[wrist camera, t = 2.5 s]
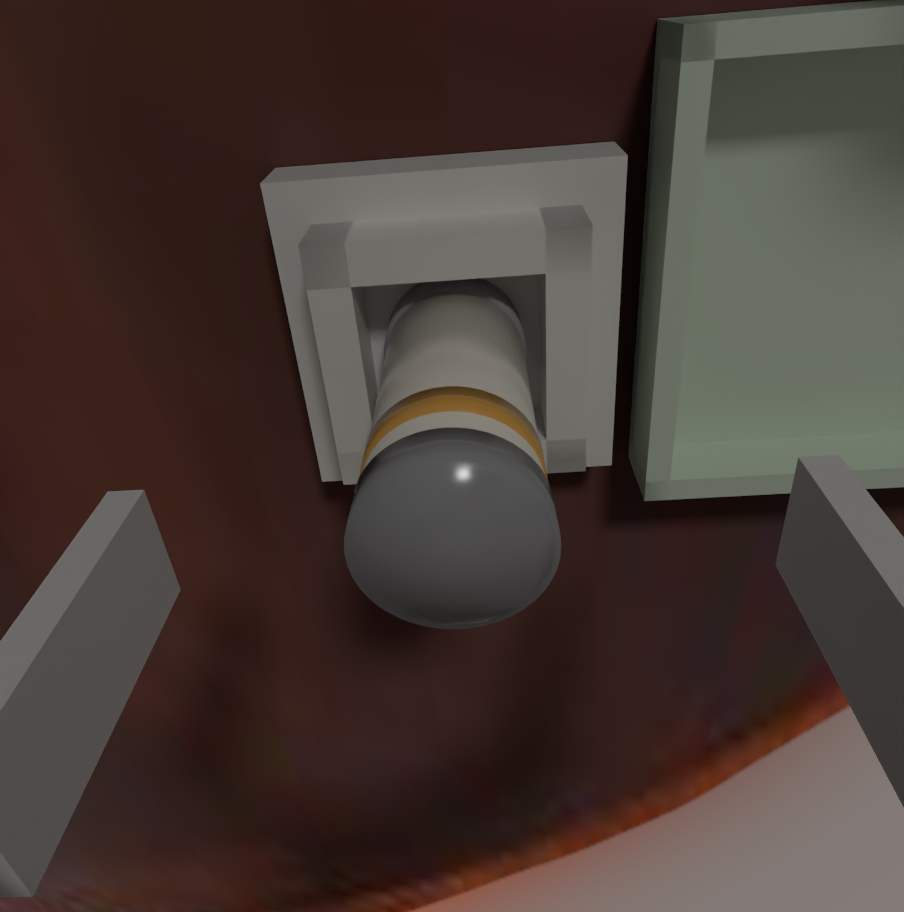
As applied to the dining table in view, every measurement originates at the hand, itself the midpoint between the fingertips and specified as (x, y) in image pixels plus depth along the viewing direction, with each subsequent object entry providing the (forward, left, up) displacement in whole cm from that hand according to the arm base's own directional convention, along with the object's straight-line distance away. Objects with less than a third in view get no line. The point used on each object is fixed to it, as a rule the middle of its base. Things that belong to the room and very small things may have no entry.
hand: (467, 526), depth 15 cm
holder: (0, 0, -11) cm, 11 cm away
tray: (+13, +1, -11) cm, 17 cm away
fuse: (0, 0, -9) cm, 9 cm away
